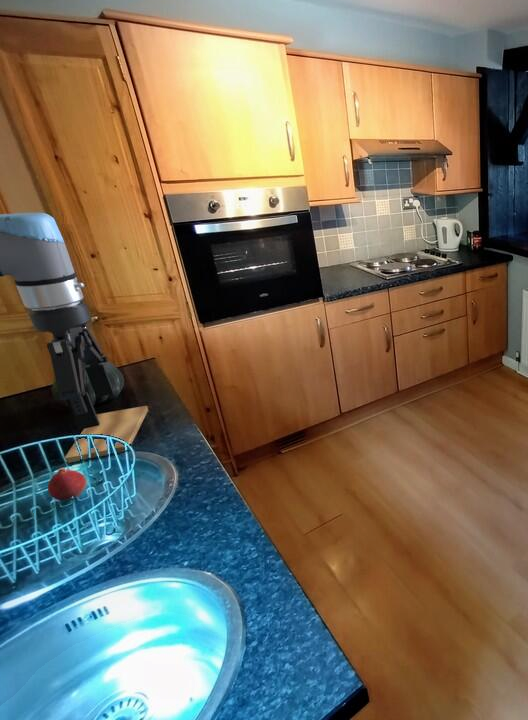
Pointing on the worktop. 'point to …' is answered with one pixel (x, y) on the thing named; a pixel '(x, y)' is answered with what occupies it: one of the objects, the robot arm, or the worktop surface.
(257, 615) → the worktop surface
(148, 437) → the worktop surface
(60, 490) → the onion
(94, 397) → the squash
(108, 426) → the cutting board
